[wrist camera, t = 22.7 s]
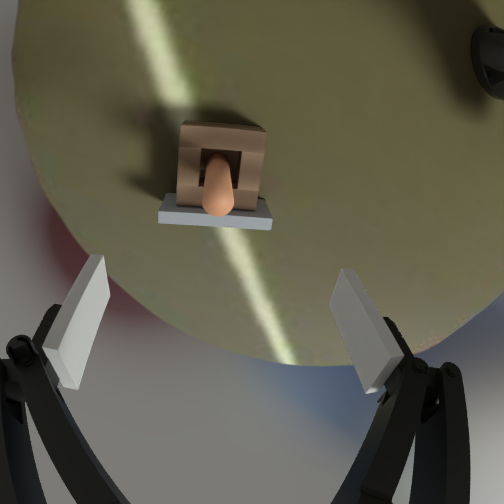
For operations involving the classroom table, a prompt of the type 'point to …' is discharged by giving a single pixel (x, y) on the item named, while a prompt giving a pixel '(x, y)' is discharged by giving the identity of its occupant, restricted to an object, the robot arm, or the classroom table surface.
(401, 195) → the classroom table surface
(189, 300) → the classroom table surface
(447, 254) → the classroom table surface
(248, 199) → the block
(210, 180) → the dowel
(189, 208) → the base
